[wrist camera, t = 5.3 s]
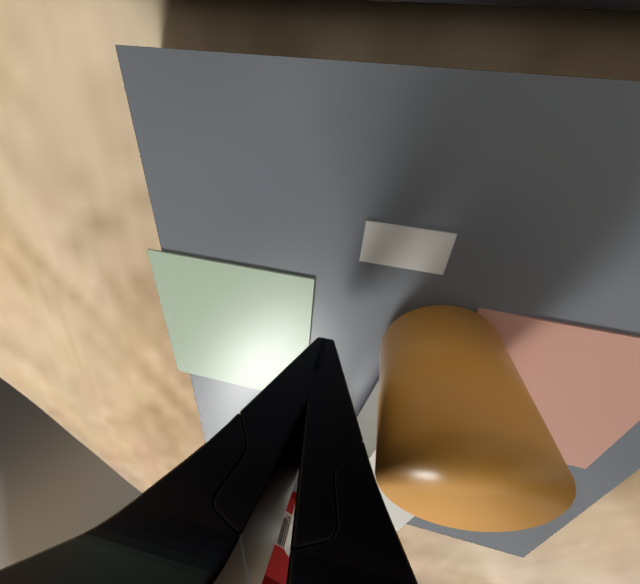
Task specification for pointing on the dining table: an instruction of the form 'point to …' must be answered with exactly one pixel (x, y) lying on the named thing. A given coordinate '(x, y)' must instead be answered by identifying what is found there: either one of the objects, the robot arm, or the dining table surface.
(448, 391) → the lever
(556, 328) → the panel
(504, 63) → the dining table surface
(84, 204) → the dining table surface
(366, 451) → the robot arm
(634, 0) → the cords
